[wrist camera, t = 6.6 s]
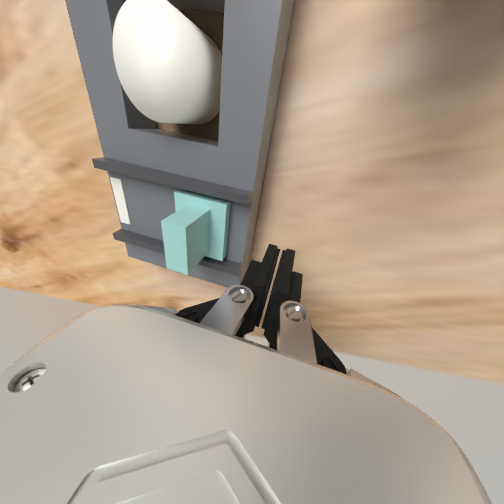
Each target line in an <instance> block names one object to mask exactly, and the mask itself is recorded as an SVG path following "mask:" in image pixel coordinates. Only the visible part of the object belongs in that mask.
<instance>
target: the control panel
mask: <svg viewBox="0 0 504 504" xmlns="http://www.w3.org/2000/svg"><path fill="white" fill-rule="evenodd" d="M65 1H66V5H67V10H68V14H69V18H70V22H71V26H72V30H73V34H74V38H75V42H76V46H77V50H78V54H79V58H80V62H81V66H82V70H83V74H84V78H85V82H86V86H87V90H88V94H89V98H90V102H91V107H92V111H93V115H94V119H95V123H96V127H97V131H98V135H99V139H100V143H101V147H102V151H103V155H104V157H102V158H94V159H92V161H93V164H94V168H98V169H102V170H106V171H108V175H109V179H110V183H111V187H112V191H113V195H114V199H115V204H116V208H117V212H118V216H119V220H120V224H121V228H122V229H120V230H118V231H116V232H114V233H113V236H114V239H116V240H119V241H123V242H125V244H126V248H127V252H128V256H129V257H133V258H136V259H139V260H142V261H145V262H149V263H152V264H155V265H158V266H161V267H165V268H167V267H166V259H165V250H164V242H163V234H162V226H161V220H163V219H165V218H167V217H168V216H170V215H172V214H173V213H175V199H174V192H175V191H177V190H180V189H181V190H185V191H190V192H194V193H198V194H202V195H206V196H210V197H214V198H218V199H222V200H226V201H230V202H231V205H230V216H229V227H228V238H227V250H226V257H225V258H224V259H223V261H220V260H217V259H213V258H210V257H207V256H204V257H203V258H202V259H201V261H200V262H199V263H198V264H197V265H196V266H195V267H194V269H193V270H192V271H191V272H190V273H189V274H188V275H190V276H193V277H197V278H200V279H203V280H206V281H209V282H213V283H216V284H219V285H222V286H225V287H231V286H233V285H240V283H241V281H242V279H243V277H244V275H245V273H246V271H247V269H248V266H249V260H250V255H251V249H252V243H253V237H254V231H255V226H256V220H257V214H258V208H259V203H260V197H261V191H262V185H263V180H264V174H265V168H266V162H267V157H268V151H269V145H270V139H271V133H272V128H273V122H274V116H275V110H276V105H277V99H278V93H279V87H280V82H281V76H282V70H283V64H284V59H285V53H286V47H287V41H288V35H289V30H290V24H291V18H292V12H293V7H294V1H295V0H167V1H168V2H169V3H170V4H172V5H173V6H174V7H175V8H178V9H188V10H198V11H208V12H218V13H224V27H223V49H222V71H221V93H220V116H219V138H218V141H217V140H212V139H206V138H201V137H196V136H191V135H186V134H181V133H176V132H171V131H166V130H161V129H157V122H156V121H154V120H151V119H150V118H148V117H146V116H145V115H144V114H142V113H141V112H140V111H139V110H138V109H137V108H136V107H135V106H134V104H133V103H132V102H131V100H130V99H129V98H128V96H127V94H126V92H125V91H124V89H123V87H122V84H121V82H120V79H119V77H118V74H117V70H116V67H115V62H114V56H113V30H114V24H115V20H116V17H117V15H118V12H119V10H120V9H121V7H122V5H123V4H124V3H125V1H127V0H65Z"/></svg>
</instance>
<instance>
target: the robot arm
mask: <svg viewBox="0 0 504 504" xmlns="http://www.w3.org/2000/svg"><path fill="white" fill-rule="evenodd" d="M277 247H278V246H275V245H272V244H269V246H268V248H267V251H266V253H265V256H264V258H263V261H262V263H261V262H258V261H254V260H252V261H251V263H250V265H249V267H248V269H247V271H246V273H245V275H244V277H243V279H242V281H241V283H240V285H233V286H231V287H229V288H228V289H227V290H226V291H225V293H224V294H223V295H222V296H221V297H220V298H218V299H215V300H211V301H208V302H205V303H201V304H198V305H195V306H191V307H188V308H185V309H183V310H180V311H179V312H178V311H175V309H171V308H163V307H154V306H145V305H127V304H115V305H104V306H99V307H95V308H92V309H90V310H88V311H86V312H84V313H82V314H80V315H78V316H77V317H75V318H74V319H72V320H71V321H69V322H68V323H66V324H65V325H63V326H62V327H60V328H59V329H58V330H56V331H55V332H53V333H52V334H51V335H49V336H48V337H47V338H46V339H44V340H43V341H41V342H40V343H39V344H38V345H36V346H35V347H34V348H32V349H31V350H30V351H28V352H27V353H26V354H25V355H23V356H22V357H21V358H19V359H18V360H17V361H16V362H14V364H12V365H11V366H9V367H8V368H7V369H6V370H5V371H3V372H2V373H1V374H0V504H492V503H491V501H490V499H489V497H488V495H487V493H486V491H485V489H484V487H483V485H482V483H481V482H480V480H479V478H478V477H477V474H476V473H475V471H474V469H473V467H472V466H471V464H470V462H469V460H468V459H467V457H466V456H465V454H464V453H463V451H462V450H461V448H460V447H459V445H458V444H457V443H456V441H455V440H454V439H453V438H452V437H451V436H450V434H449V433H448V432H447V431H446V430H445V429H444V428H443V427H441V426H440V425H439V424H438V423H437V422H435V421H434V420H433V419H432V418H431V417H429V416H428V415H427V414H425V413H424V412H422V411H421V410H420V409H418V408H417V407H415V406H414V405H412V404H411V403H409V402H407V401H405V400H404V399H402V398H401V397H400V396H398V395H397V394H396V393H394V392H392V391H390V390H389V389H387V388H385V387H383V386H381V385H380V384H378V383H376V382H374V381H372V380H371V379H369V378H367V377H365V376H363V375H362V374H360V373H358V372H356V371H354V370H353V369H350V370H348V369H346V368H345V366H344V365H343V363H342V362H341V361H340V359H339V358H338V357H337V356H336V355H335V354H334V352H333V351H332V350H331V349H330V348H329V347H328V346H327V344H326V343H325V342H324V341H323V340H322V339H321V337H320V336H319V335H318V334H317V333H316V332H315V330H314V329H313V328H312V327H311V322H310V315H309V312H308V310H307V309H306V307H305V306H303V305H302V304H300V298H301V287H302V274H300V273H297V272H293V271H292V269H293V263H294V256H295V251H294V250H290V249H287V250H286V251H285V250H283V252H282V255H281V259H280V262H279V266H278V269H277V273H276V277H275V280H274V284H273V287H272V291H271V295H270V298H269V302H268V306H267V309H266V313H265V317H264V321H263V324H262V328H263V329H265V331H264V336H265V337H266V339H267V340H268V342H269V343H268V347H266V346H263V345H260V344H258V343H255V342H252V341H249V340H246V339H244V338H245V335H246V334H247V333H250V332H252V331H254V327H255V326H257V327H259V324H260V320H261V317H262V313H263V310H264V306H265V303H266V299H267V296H268V292H269V289H270V285H271V282H272V278H273V274H274V271H275V267H276V263H277V259H278V256H279V252H280V249H278V248H277Z"/></svg>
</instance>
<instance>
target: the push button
mask: <svg viewBox="0 0 504 504" xmlns="http://www.w3.org/2000/svg"><path fill="white" fill-rule="evenodd" d="M113 56H114V62H115V67H116V70H117V74H118V77H119V79H120V82H121V84H122V87H123V89H124V91H125V92H126V94H127V96H128V98H129V99H130V100H131V102H132V103H133V104H134V106H135V107H136V108H137V109H138V110H139V111H140V112H141V113H142V114H144V115H145V116H146V117H148V118H150V119H151V120H154V121H156V122H160V123H175V124H204V123H207V122H209V121H211V120H212V119H213V118H214V117H215V116H216V115H217V114H218V113H219V111H220V93H221V71H222V55H221V53H220V51H219V49H218V47H217V46H216V44H215V43H214V42H213V41H212V39H211V38H210V37H209V36H207V35H206V34H205V33H204V32H203V31H202V30H200V29H199V28H198V27H197V26H196V25H195V24H194V23H192V22H191V21H190V20H189V19H188V18H187V17H185V16H184V15H183V14H182V13H181V12H180V11H178V10H177V9H176V8H175V7H174V6H173V5H172V4H170V3H169V2H168V1H167V0H127V1H125V3H124V4H123V5H122V7H121V9H120V10H119V12H118V15H117V17H116V20H115V24H114V30H113Z"/></svg>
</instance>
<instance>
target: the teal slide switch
mask: <svg viewBox="0 0 504 504" xmlns="http://www.w3.org/2000/svg"><path fill="white" fill-rule="evenodd" d="M174 199H175V213H173V214H172V215H170V216H168V217H167V218H165V219H163V220H161V226H162V234H163V242H164V250H165V259H166V267H167V269H170V270H173V271H177V272H180V273H183V274H186V275H188V274H189V273H190V272H191V271H192V270H193V269H194V267H195V266H196V265H197V264H198V263H199V262H200V261H201V259H202V258H203V257H204V256H207V257H210V258H213V259H217V260H220V261H223V259H224V258H225V257H226V250H227V238H228V227H229V216H230V205H231V202H230V201H226V200H222V199H218V198H214V197H210V196H206V195H202V194H198V193H194V192H190V191H185V190H181V189H180V190H177V191H175V192H174Z"/></svg>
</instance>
